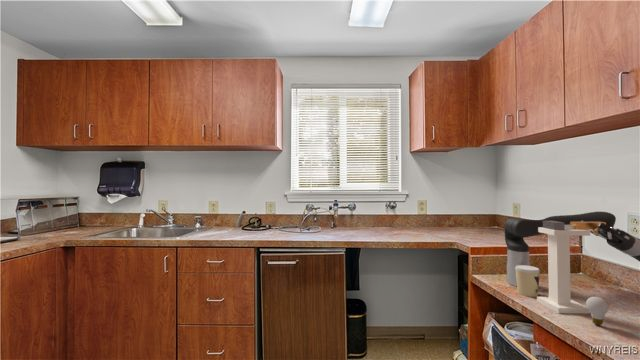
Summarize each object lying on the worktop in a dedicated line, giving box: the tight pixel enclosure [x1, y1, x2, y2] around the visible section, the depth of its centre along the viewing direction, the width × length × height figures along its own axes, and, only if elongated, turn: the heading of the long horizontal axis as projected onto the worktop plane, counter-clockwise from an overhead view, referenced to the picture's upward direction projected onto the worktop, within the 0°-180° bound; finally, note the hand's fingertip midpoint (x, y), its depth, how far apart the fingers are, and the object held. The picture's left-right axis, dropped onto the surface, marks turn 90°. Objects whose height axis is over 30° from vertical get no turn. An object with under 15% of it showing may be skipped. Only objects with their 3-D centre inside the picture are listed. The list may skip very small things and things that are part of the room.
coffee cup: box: [515, 265, 541, 298], centre depth 138 cm, size 9×9×12 cm
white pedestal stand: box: [536, 227, 591, 314], centre depth 123 cm, size 12×14×32 cm
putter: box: [543, 221, 606, 230], centre depth 123 cm, size 6×22×3 cm, turn 89°
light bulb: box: [585, 296, 610, 327], centre depth 107 cm, size 6×6×10 cm
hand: (590, 223), depth 123 cm, fingers open, 8 cm apart
